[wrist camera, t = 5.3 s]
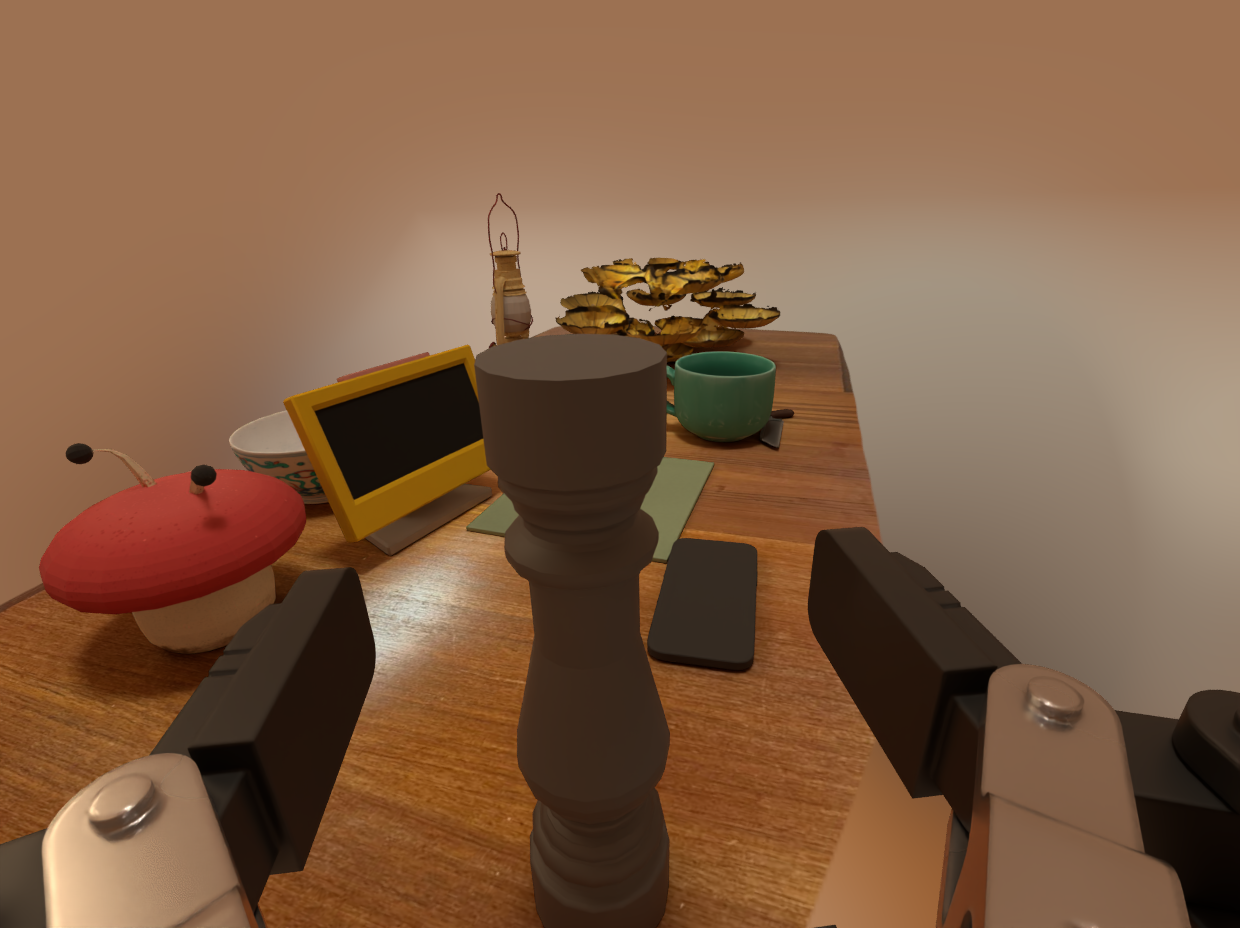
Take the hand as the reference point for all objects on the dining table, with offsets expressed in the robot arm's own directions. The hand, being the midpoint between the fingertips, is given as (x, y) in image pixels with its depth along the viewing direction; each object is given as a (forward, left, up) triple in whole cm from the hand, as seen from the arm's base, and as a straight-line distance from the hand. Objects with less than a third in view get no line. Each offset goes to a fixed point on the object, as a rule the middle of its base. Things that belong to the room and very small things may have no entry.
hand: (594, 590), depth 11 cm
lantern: (+52, -90, -23) cm, 106 cm away
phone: (+3, -31, -23) cm, 38 cm away
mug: (+11, -67, -23) cm, 72 cm away
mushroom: (+27, -103, -23) cm, 109 cm away
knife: (+2, -70, -23) cm, 73 cm away
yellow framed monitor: (+34, -36, -23) cm, 55 cm away
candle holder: (+4, -8, -23) cm, 25 cm away
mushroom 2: (+39, -17, -23) cm, 48 cm away
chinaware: (+48, -38, -23) cm, 65 cm away
